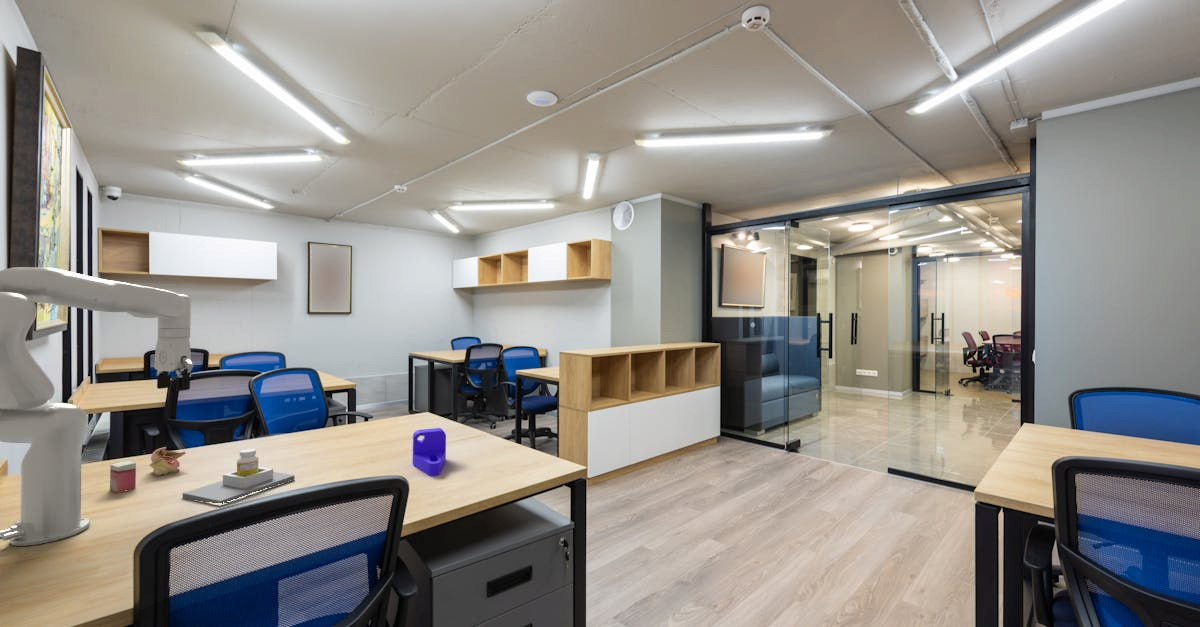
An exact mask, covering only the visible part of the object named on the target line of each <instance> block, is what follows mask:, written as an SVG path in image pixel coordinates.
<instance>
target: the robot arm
mask: <svg viewBox="0 0 1200 627" xmlns="http://www.w3.org/2000/svg"><path fill="white" fill-rule="evenodd" d="M36 303H43V304H49V305H51V304H52V305H58V306H64V307H71V308H77V309H83V310H88V311H94V312H105V313H106V312H107V313H108V312H109V313H126V314H128V315H130V316H132V317H135V318H140V319H157V340H156V345H155V346H156V347H155V353H154V364H153V368H154V369H155V370H156V376H157V377H156V378H157V379H156V388H157V389H160V390H161V389H169V388H171V382H172V380H171V379H172V378H171V376H172V375H171V374H170V373H171V372H174V371H175V373H176V375H177V378H176V391H177V392H182V391H189V390H190V389H191V377H192V372H193V368H194V365H195V364H194V362H192V356H191V355H192V354H191V342H190V339H191V320H192V319H191V318H192V317H191V310H192V309H191V307H192V305H191V303H192V300H191V297H190V296H188V295H187V294H179V293H176V292H173V291H170V290H166V289H160V288H157V287H151V286H145V285H139V284H134V283H133V284H131V283H127V282H123V281H122V282H121V281H116V280H109V279H104V278H100V277H95V276H90V275H85V274H81V273H77V272H73V271H68V270H66V269H65V270H64V269H59V268H53V267H42V266H40V267H37V266H36V267H29V266H27V267H26V266H23V267H22V266H19V267H18V266H16V267H10V268H5V269H2V270H0V442H2V443H10V444H11V443H12V444H30V446H29V448H28V450H27V451H26V452H25V453H26V454H25V455H24V457H23V459H22V460H21V466H20V520H16V521H14V522H13V523H14V524H13V525H12V526H11V525H10V526H9V527H8V528H7V529H4V530H0V540H2V541H3V542H6V541H8V540H9V544H10V545H12V546H15V547H17V546H18V547H23V546H24V547H27V546H36V545H42V544H47V543H51V542H56V541H60V540H62V539H66V538H70V537H72V536H74V535H77V534H79V533H81V532H84V531H85V530H86V529H88V528H89V527H90V524H91V521H90V519H88V518H84V517H82V516H81V515H82V450H83V442H84V438H85V434H86V430H87V429H88V428H87V427H88V423H89V421H88V420H89V417H88V414H87V412H86V411H85V410H84V409H83V408H82V407H80V406H78V405H75V404H72V403H67V402H65V403H64V402H50V401H51V400H52V399H53V397H54V395H55V391H56V390H55V386H54V384H53V382H52V380H51V378H50V377H49V376H48V375H47V373H46V372H45V371H44V370H43V368H42V367H41V366H40V365H39V363H38V362H37V361H36V360H35V358H34V357H33V356H32V354H31V353H30V351H29V349H28V348H27V345H26V339H27V338H26V337H27V334H28V332H29V331H30V328H31V326H32V325H33V324H34V322H35V320H36V318H37V313H38V312H37V311H38V310H37V306H36Z"/></svg>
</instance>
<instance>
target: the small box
mask: <svg viewBox="0 0 1200 627" xmlns="http://www.w3.org/2000/svg"><path fill="white" fill-rule="evenodd" d="M109 470H110V471H109V472H110V473H109V478H110V479H109V490H110V491H111V490H112V492H114V491H115V493H116V492H119V493H122V492H121V491H123V492H126V491H125V490H128V491H130V489H131V490H134V488H135V489H136V487H137V486H136V482H137V481H136V480H137V477H136V476H137V463H136V462H134V461H131V460H125V461H121V462H117V463H112V464H110V468H109Z"/></svg>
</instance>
